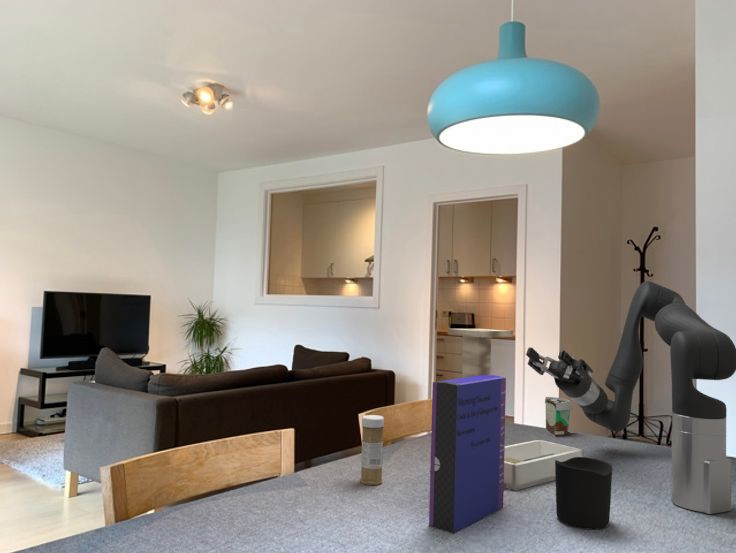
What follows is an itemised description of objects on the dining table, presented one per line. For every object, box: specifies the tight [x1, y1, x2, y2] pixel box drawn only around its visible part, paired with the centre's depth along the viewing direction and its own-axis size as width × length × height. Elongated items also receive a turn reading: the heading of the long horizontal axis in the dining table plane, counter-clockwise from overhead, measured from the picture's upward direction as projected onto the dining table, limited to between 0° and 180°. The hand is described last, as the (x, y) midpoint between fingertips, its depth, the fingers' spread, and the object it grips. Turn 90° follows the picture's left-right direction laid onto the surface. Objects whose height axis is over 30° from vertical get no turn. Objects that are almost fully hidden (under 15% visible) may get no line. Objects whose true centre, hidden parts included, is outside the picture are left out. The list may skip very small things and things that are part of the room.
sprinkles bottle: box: [360, 414, 385, 486], centre depth 123 cm, size 5×5×13 cm
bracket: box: [447, 328, 514, 491], centre depth 123 cm, size 10×9×32 cm
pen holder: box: [555, 456, 613, 530], centre depth 105 cm, size 9×9×10 cm
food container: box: [544, 396, 573, 438], centre depth 178 cm, size 12×6×10 cm, turn 179°
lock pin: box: [504, 453, 556, 464], centre depth 133 cm, size 18×5×3 cm, turn 130°
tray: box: [504, 439, 585, 492], centre depth 133 cm, size 25×12×5 cm, turn 129°
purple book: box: [428, 374, 507, 535], centre depth 106 cm, size 17×5×24 cm, turn 141°
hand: (544, 352), depth 138 cm, fingers open, 8 cm apart
